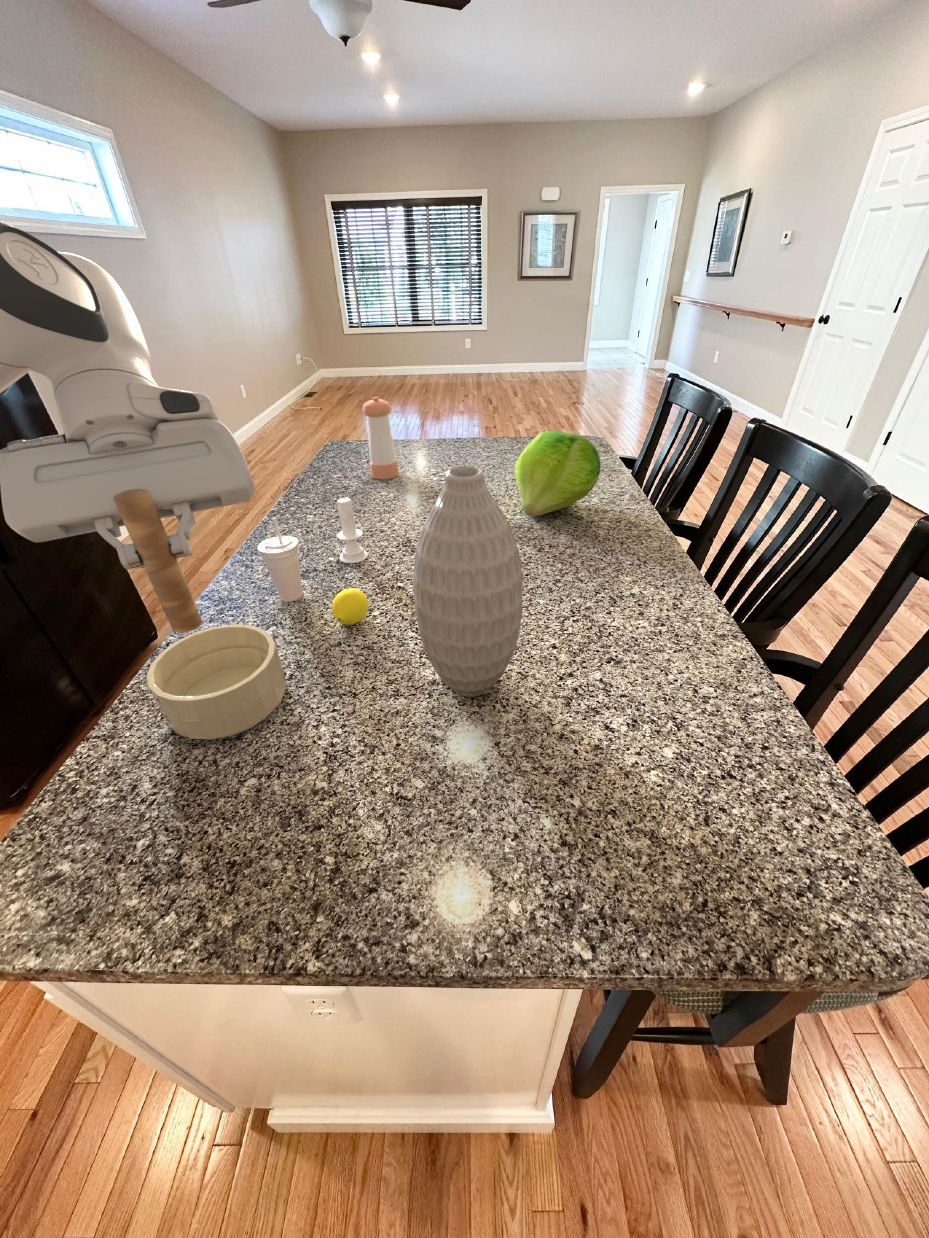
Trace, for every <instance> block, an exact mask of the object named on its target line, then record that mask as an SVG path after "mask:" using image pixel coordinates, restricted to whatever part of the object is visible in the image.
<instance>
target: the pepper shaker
mask: <svg viewBox="0 0 929 1238" xmlns="http://www.w3.org/2000/svg"><path fill="white" fill-rule="evenodd" d="M362 412H363V414H364V415H365V416H366V421H367V429H368V452H369V458H370V461H369V469H370V476H371V478H372V479H375V480H389V479H393V478H396V477H398V476H399V474H400V471H399V461H398V459H397V457H396V446H395V442H394V438H393V434H392V430H391V420H390V414H391V413H392V405H391V404H390V403H389V401H387V400H385V399H380V397H379V396H373V397H372V399H370V400H367V401H366V402H365V403H363V405H362Z"/></svg>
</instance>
